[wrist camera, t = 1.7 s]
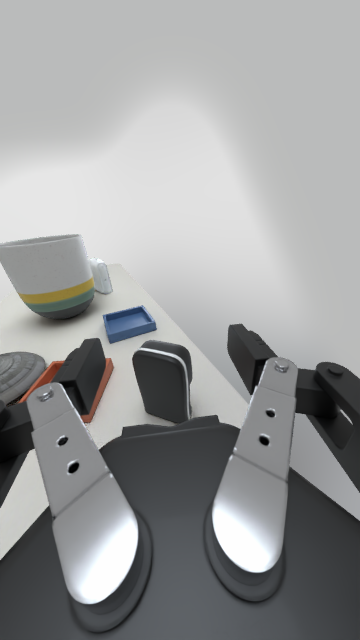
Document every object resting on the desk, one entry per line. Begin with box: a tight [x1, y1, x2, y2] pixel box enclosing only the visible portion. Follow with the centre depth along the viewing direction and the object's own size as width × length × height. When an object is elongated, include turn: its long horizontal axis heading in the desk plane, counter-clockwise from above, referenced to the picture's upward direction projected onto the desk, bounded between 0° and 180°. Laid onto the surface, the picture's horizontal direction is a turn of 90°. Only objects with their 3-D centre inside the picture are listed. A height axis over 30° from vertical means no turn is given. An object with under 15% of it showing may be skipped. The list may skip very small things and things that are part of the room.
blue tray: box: [103, 305, 156, 343], centre depth 51 cm, size 11×11×2 cm
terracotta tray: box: [17, 358, 114, 423], centre depth 33 cm, size 11×11×2 cm
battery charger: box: [132, 340, 192, 424], centre depth 26 cm, size 7×4×11 cm, turn 68°
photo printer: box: [89, 258, 113, 294], centre depth 74 cm, size 10×4×12 cm, turn 43°
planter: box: [0, 234, 95, 319], centre depth 56 cm, size 20×20×21 cm
